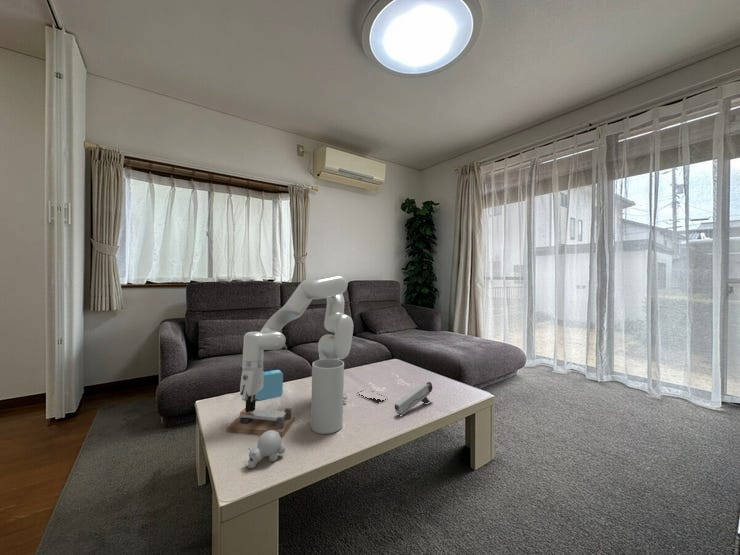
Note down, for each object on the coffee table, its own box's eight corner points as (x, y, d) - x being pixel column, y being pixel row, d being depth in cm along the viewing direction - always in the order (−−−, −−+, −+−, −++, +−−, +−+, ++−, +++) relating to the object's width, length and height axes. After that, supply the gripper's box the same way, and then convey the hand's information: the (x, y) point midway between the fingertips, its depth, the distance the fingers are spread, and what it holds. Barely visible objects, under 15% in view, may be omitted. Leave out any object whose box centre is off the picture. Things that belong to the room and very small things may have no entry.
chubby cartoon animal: (246, 469, 88) (236, 449, 86) (279, 441, 96) (270, 421, 94) (255, 481, 83) (244, 459, 81) (289, 450, 91) (280, 430, 89)
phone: (367, 389, 147) (388, 398, 136) (367, 391, 147) (388, 400, 136) (356, 393, 141) (377, 402, 131) (356, 395, 141) (377, 405, 131)
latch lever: (286, 414, 111) (287, 409, 111) (281, 421, 106) (281, 416, 106) (246, 410, 113) (247, 405, 113) (239, 417, 108) (239, 412, 108)
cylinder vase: (314, 417, 117) (316, 358, 117) (344, 418, 117) (345, 359, 117) (307, 434, 104) (308, 367, 105) (340, 435, 104) (341, 369, 104)
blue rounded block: (280, 392, 141) (280, 369, 141) (282, 396, 137) (283, 371, 137) (255, 397, 135) (255, 372, 135) (256, 401, 131) (257, 375, 131)
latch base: (294, 420, 114) (295, 406, 114) (282, 437, 102) (282, 421, 102) (244, 416, 116) (244, 402, 116) (226, 432, 104) (226, 416, 104)
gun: (435, 399, 135) (432, 380, 134) (400, 427, 119) (397, 406, 118) (430, 397, 137) (428, 378, 136) (396, 425, 121) (393, 404, 120)
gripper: (251, 370, 102) (248, 420, 101) (270, 359, 117) (268, 403, 116) (232, 368, 102) (229, 418, 102) (253, 357, 117) (251, 401, 117)
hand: (250, 410), depth 109 cm, fingers closed
